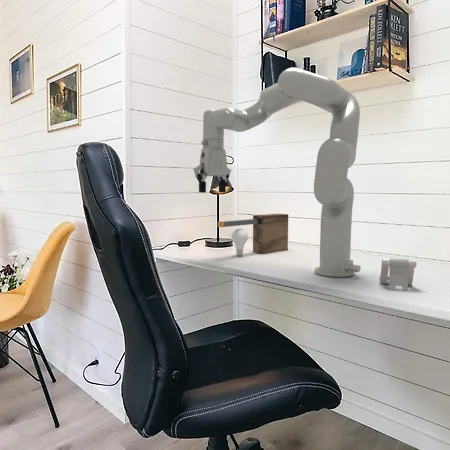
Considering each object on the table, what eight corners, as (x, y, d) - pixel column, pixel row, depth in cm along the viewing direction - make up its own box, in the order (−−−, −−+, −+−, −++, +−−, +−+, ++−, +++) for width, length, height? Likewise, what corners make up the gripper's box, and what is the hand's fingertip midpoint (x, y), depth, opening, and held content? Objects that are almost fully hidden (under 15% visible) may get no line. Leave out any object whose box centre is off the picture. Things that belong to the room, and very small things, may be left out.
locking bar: (265, 223, 178) (265, 218, 178) (222, 227, 162) (222, 222, 161) (260, 222, 180) (260, 218, 180) (217, 226, 163) (217, 221, 163)
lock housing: (287, 249, 187) (288, 214, 186) (263, 254, 176) (263, 216, 175) (277, 248, 192) (277, 213, 190) (252, 252, 181) (253, 215, 179)
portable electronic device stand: (411, 285, 123) (412, 256, 122) (415, 291, 116) (417, 261, 115) (379, 283, 125) (380, 255, 125) (382, 289, 118) (383, 259, 117)
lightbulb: (228, 255, 172) (228, 228, 170) (240, 254, 175) (240, 227, 174) (238, 258, 166) (238, 230, 165) (250, 256, 170) (251, 228, 169)
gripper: (201, 142, 147) (200, 192, 149) (237, 146, 159) (236, 192, 161) (188, 143, 152) (187, 192, 154) (223, 147, 164) (222, 191, 166)
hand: (212, 192), depth 157 cm, fingers open, 9 cm apart
